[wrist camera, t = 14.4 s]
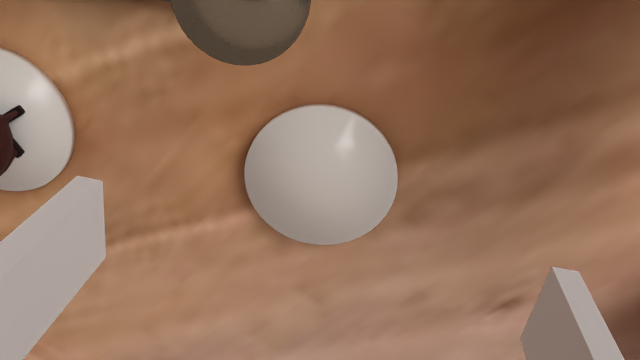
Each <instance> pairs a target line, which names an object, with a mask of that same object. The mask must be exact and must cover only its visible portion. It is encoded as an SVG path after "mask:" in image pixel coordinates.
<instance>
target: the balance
mask: <svg viewBox="0 0 640 360" xmlns="http://www.w3.org/2000/svg"><path fill="white" fill-rule="evenodd" d="M164 1H170V2H171V4H172V8H173V11H174V14H175V16H176V18H177V21H178V23H179V24H180V26H181V28H182V30H183V31H184V32H185V34H186V35H187V37H188V38H189V39H190V40H191V41H192V42H193V43H194V44H195V45H196V46H197V47H198V48H199V49H201V50H202V51H203V52H205V53H206V54H208V55H209V56H211V57H213V58H215V59H217V60H220V61H222V62H225V63H229V64H234V65H256V64H261V63H264V62H267V61H270V60H272V59H274V58H276V57H278V56H279V55H281V54H282V53H283V52H285V51H286V50H287V49H288V48H289V47H290V46H291V45H292V44H293V43H294V42H295V41H296V39H297V38H298V36H299V35H300V33H301V31H302V29H303V27H304V25H305V23H306V20H307V17H308V14H309V9H310V3H311V0H164Z"/></svg>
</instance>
